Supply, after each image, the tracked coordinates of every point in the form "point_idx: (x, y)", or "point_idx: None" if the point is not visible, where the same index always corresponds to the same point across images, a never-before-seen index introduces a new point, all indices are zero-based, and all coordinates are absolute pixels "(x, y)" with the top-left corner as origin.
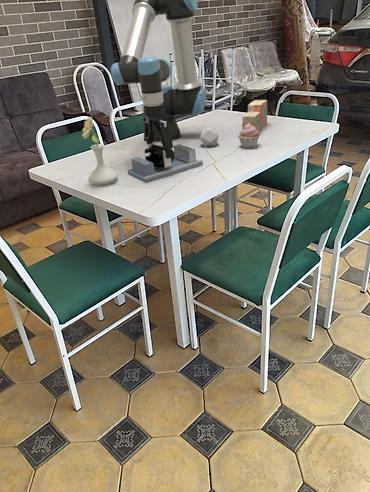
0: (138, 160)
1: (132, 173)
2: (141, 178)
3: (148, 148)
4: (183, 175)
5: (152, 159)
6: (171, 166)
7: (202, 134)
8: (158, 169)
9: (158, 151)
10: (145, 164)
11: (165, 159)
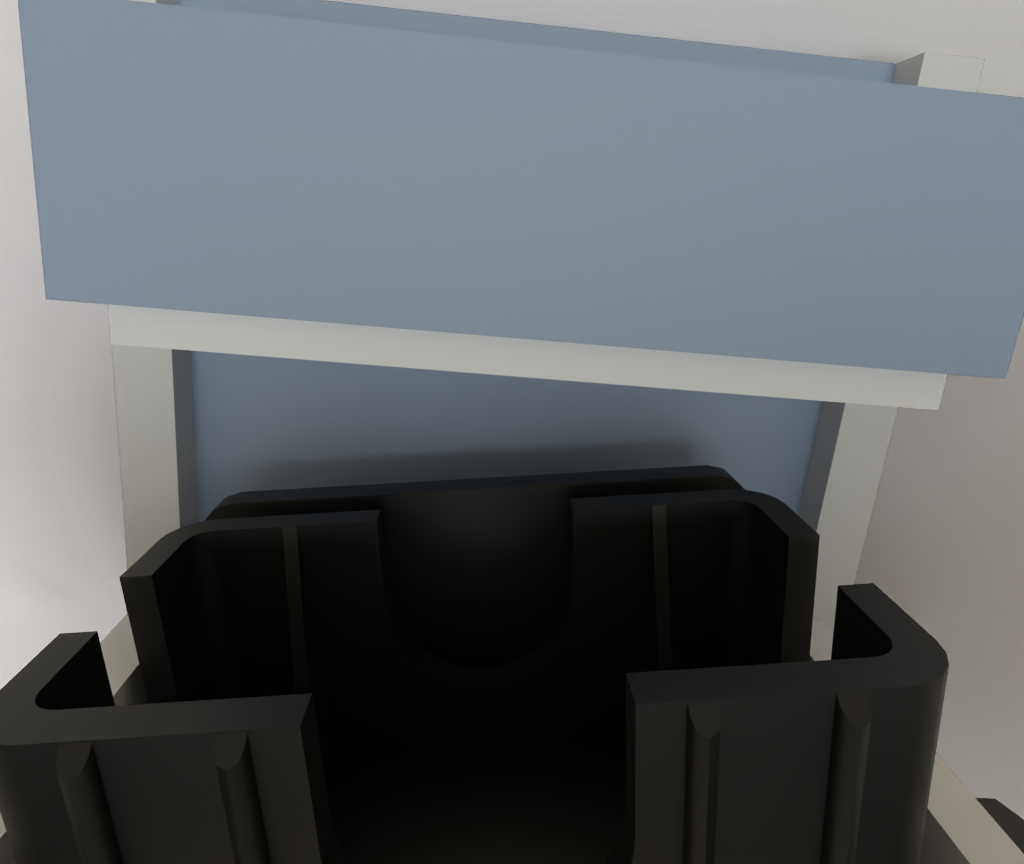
0: (675, 148)
1: (736, 46)
2: (317, 4)
3: (838, 810)
4: (12, 678)
5: (650, 619)
6: None
7: None
8: None
9: (73, 826)
10: (62, 28)
11: None
